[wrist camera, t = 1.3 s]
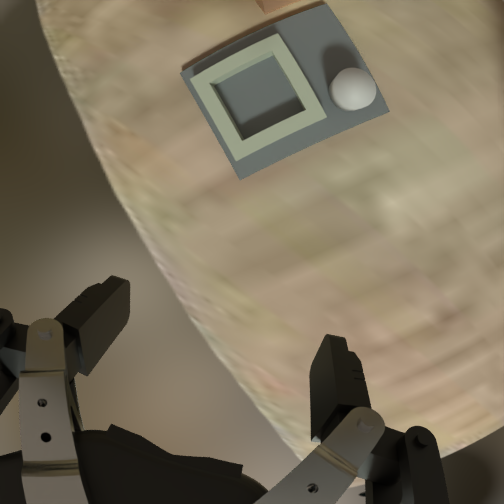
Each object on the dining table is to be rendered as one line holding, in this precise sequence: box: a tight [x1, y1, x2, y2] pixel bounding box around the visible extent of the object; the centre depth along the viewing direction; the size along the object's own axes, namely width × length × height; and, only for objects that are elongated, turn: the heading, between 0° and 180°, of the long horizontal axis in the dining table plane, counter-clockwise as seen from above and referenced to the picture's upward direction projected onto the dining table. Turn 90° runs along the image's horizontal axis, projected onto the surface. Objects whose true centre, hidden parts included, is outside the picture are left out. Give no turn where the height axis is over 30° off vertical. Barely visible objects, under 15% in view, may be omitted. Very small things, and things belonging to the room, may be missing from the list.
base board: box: [180, 4, 390, 180], centre depth 26 cm, size 18×14×5 cm
